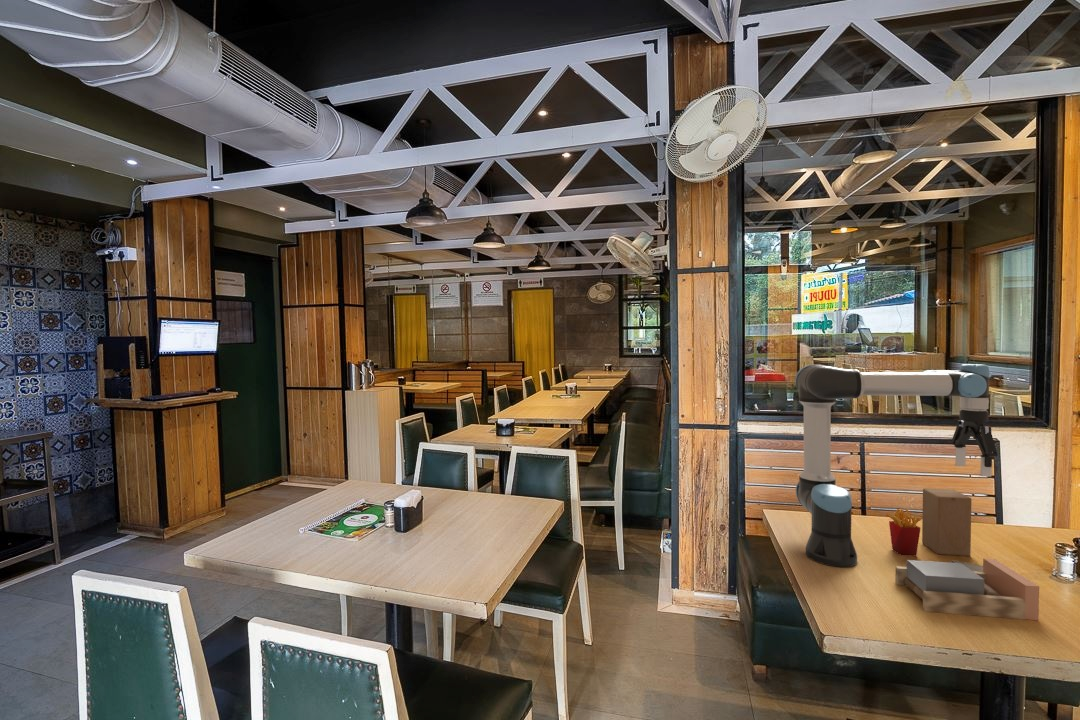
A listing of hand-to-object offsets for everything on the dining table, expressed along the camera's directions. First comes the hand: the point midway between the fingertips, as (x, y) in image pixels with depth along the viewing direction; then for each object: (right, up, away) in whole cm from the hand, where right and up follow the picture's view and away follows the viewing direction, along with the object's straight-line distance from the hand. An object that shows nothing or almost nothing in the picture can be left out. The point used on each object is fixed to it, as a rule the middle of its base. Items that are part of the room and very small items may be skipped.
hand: (972, 471), depth 172 cm
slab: (-34, -26, -30) cm, 52 cm away
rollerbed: (-31, -30, -30) cm, 53 cm away
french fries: (-24, -28, +2) cm, 37 cm away
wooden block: (-7, -28, +3) cm, 29 cm away
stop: (-18, -30, -33) cm, 48 cm away
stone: (-12, -29, -18) cm, 36 cm away
